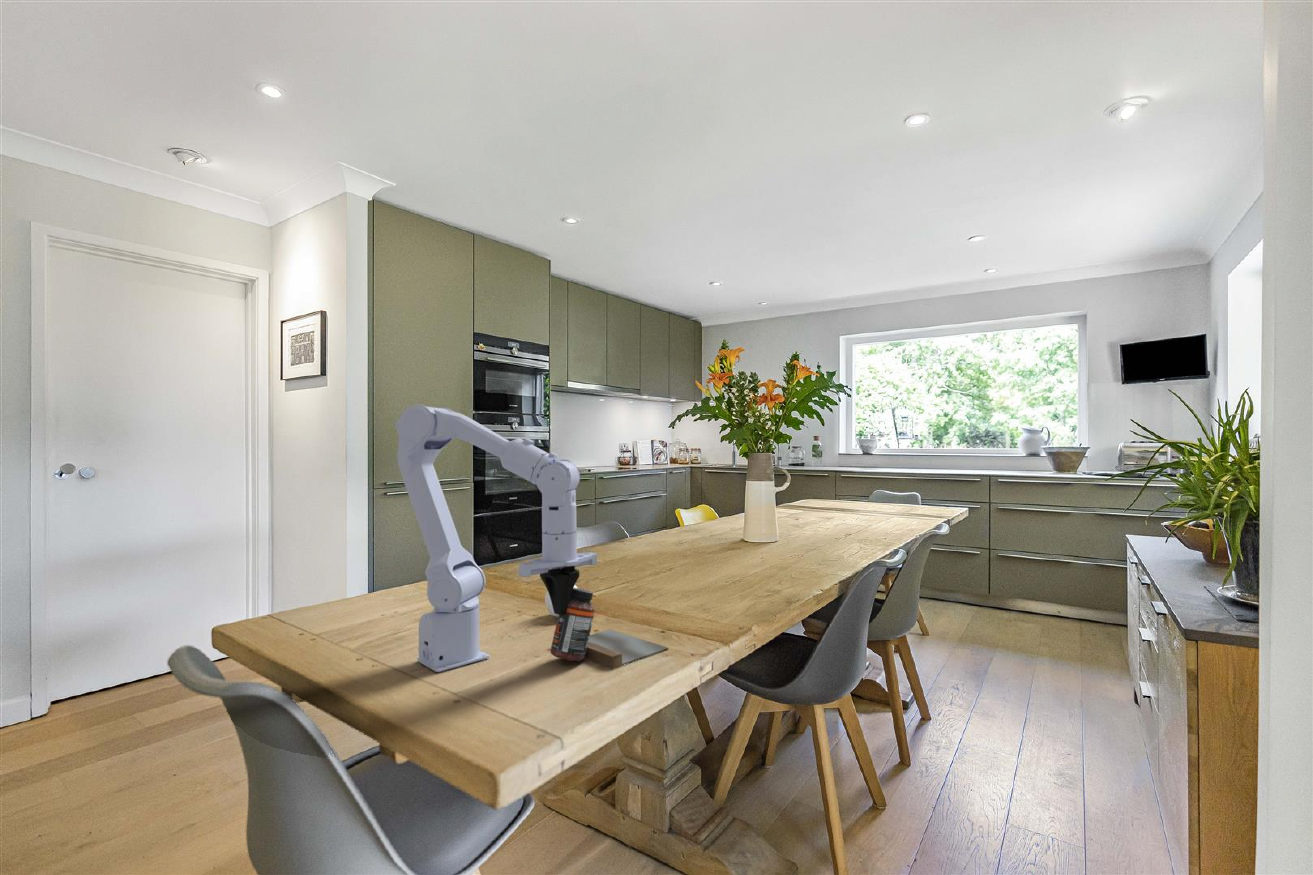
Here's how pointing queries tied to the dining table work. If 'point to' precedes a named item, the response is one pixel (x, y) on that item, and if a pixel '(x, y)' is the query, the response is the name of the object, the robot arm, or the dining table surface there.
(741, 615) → the dining table surface
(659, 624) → the dining table surface
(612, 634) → the stop bar and mat
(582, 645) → the supplement bottle
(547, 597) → the geometric ball
